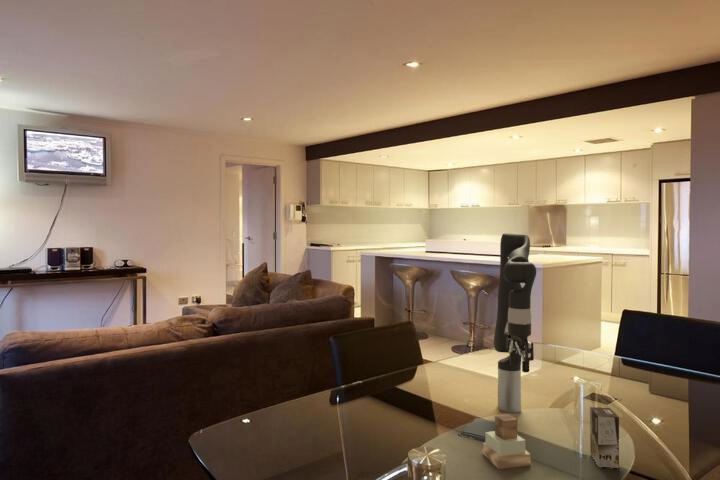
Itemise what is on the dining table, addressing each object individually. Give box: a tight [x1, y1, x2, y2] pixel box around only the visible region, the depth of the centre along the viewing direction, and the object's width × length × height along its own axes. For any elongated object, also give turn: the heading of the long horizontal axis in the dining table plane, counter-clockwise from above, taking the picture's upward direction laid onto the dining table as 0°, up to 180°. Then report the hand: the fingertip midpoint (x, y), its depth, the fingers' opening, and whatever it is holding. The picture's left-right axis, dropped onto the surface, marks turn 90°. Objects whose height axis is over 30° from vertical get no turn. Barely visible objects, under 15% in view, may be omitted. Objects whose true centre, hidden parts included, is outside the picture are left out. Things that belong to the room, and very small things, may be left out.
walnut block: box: [494, 413, 518, 440], centre depth 154 cm, size 5×5×6 cm
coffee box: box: [589, 406, 620, 468], centre depth 152 cm, size 9×6×16 cm
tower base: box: [482, 442, 532, 470], centre depth 154 cm, size 11×11×4 cm
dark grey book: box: [460, 417, 495, 443], centre depth 178 cm, size 20×2×15 cm
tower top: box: [484, 431, 526, 456], centre depth 154 cm, size 9×9×4 cm
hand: (519, 368), depth 162 cm, fingers open, 8 cm apart
